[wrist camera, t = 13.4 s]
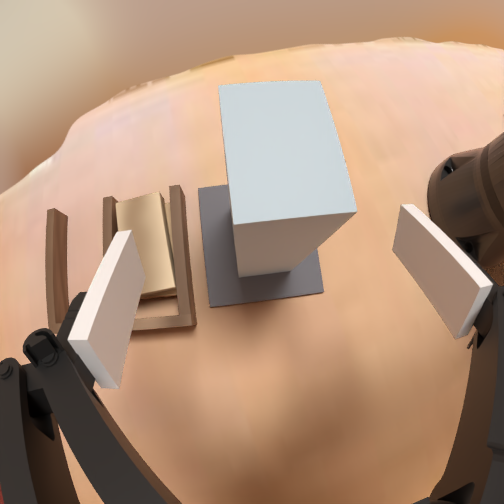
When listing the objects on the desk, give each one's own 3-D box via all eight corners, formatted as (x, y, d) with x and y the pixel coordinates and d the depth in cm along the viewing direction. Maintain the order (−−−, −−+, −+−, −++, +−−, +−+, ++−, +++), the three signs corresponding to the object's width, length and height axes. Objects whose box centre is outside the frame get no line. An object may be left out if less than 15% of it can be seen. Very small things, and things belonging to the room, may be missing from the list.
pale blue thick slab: (279, 202, 31) (320, 80, 13) (290, 270, 30) (357, 211, 12) (230, 207, 31) (218, 85, 13) (238, 277, 29) (233, 224, 12)
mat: (302, 178, 32) (303, 177, 32) (322, 291, 30) (323, 291, 29) (198, 189, 31) (198, 188, 31) (210, 307, 29) (210, 306, 29)
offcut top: (164, 198, 30) (159, 191, 28) (179, 288, 28) (174, 286, 26) (122, 209, 29) (115, 203, 27) (135, 297, 28) (127, 296, 26)
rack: (184, 196, 31) (179, 184, 28) (197, 324, 29) (191, 325, 26) (60, 217, 30) (47, 209, 27) (64, 332, 28) (49, 333, 25)
